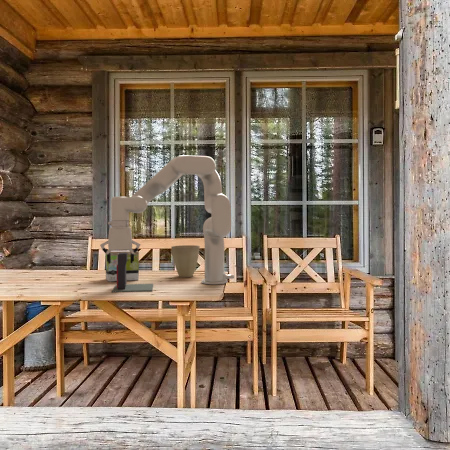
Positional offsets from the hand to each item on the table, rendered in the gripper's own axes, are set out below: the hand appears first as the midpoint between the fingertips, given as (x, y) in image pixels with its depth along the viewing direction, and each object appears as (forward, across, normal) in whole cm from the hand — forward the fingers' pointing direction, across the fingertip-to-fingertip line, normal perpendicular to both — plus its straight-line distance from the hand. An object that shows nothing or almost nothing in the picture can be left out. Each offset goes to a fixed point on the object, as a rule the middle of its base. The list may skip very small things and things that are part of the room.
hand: (120, 263), depth 196 cm
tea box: (+12, -2, +26) cm, 29 cm away
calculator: (+11, +1, 0) cm, 11 cm away
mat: (+12, +6, 0) cm, 13 cm away
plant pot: (+12, +30, +33) cm, 46 cm away
